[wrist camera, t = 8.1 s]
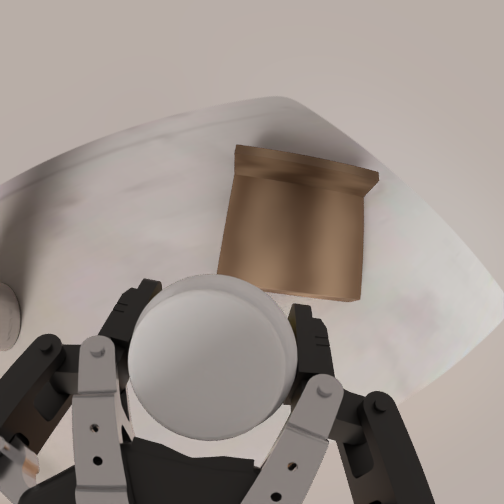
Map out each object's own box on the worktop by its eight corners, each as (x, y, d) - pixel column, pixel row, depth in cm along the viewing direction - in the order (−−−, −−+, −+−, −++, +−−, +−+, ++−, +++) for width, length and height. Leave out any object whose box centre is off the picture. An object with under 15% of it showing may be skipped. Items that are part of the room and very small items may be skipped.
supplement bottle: (276, 305, 17) (334, 275, 7) (261, 395, 16) (297, 478, 6) (184, 288, 17) (121, 238, 7) (168, 378, 15) (91, 436, 6)
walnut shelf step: (217, 284, 29) (212, 272, 23) (235, 179, 32) (236, 144, 25) (349, 302, 30) (378, 295, 23) (353, 200, 33) (378, 172, 26)
